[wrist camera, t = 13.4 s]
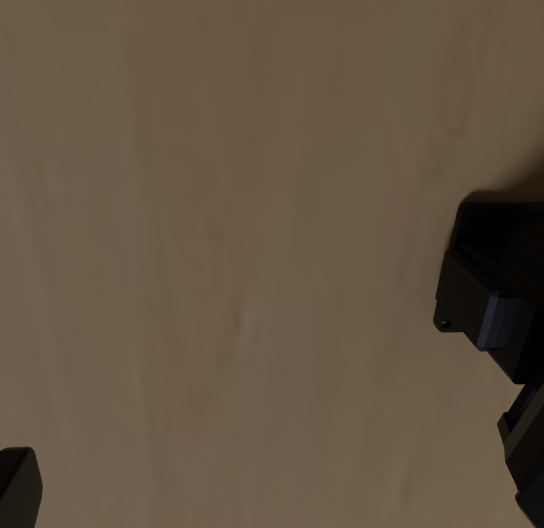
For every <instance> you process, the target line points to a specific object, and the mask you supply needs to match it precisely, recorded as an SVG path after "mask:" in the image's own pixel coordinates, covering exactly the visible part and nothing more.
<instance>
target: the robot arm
mask: <svg viewBox="0 0 544 528" xmlns="http://www.w3.org/2000/svg"><path fill="white" fill-rule="evenodd" d="M471 210H474V213H473V215H472V216H471V217H469V218H467V214H468V212H470V211H471ZM436 300H437V305H436V309H435V314H434V318H433V323H434V325H435V327H436V328H437V329H438V330H439V331H440V332H444V333H446V332H464V334H465V335H466V336H467V337H468V339H469V340H470V341H471V342H472V343H473V345H474V346H475V347H476V348H477V349H478V350H479V351H487V352H488V353H489V355H490V356H491V357H492V358H493V359H494V360H495V362H496V363H497V364H498V365H499V366H500V368H501V369H502V370H503V371H504V372H505V373H506V375H507V376H508V377H509V378H510V379H511V380H512V382H513V383H514V384H525V386H524V387H523V389H522V390H521V392H520V393H519V395H518V397H517V398H516V400H515V401H514V403H513V404H512V406H511V408H510V409H509V411H508V412H504V413H503V415H502V416H501V418H500V419H499V421H498V422H497V426H498V429H499V432H500V435H501V439H502V442H503V445H504V451H505V462H506V465H507V467H508V469H509V471H510V473H511V475H512V478H513V480H514V482H515V484H516V486H517V490H518V492H517V493H516V495H515V499H516V502H517V504H518V506H519V508H520V510H521V511H522V512H523V513H524V515H525V516H526V517H527V519H528V520H529V521H530V522H531V524H532V525H533V526H534V528H544V202H472V201H470V202H466V203H464V204H462V205H461V206H460V207H459V209H458V211H457V215H456V219H455V224H454V228H453V233H452V237H451V242H450V246H449V248H448V249H447V251H446V252H445V256H444V260H443V265H442V269H441V274H440V278H439V283H438V288H437V292H436ZM447 319H448V320H447ZM444 320H447V322H446V323H443V324H442V322H443V321H444ZM42 490H43V485H42V479H41V475H40V471H39V467H38V463H37V459H36V455H35V452H34V450H33V449H32V448H31V447H10V448H5V449H3V450H1V451H0V528H34V527H35V523H36V519H37V515H38V511H39V507H40V502H41V498H42Z"/></svg>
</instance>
